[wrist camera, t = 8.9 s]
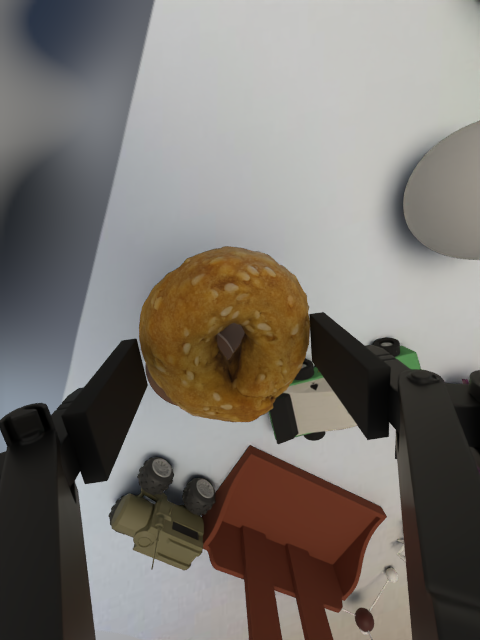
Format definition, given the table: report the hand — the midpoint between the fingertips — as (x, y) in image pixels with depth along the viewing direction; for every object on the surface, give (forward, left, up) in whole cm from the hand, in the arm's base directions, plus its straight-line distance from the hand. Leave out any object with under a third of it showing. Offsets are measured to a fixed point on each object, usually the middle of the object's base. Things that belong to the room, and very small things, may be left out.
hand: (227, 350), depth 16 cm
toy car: (+16, +13, -20) cm, 29 cm away
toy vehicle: (+29, -12, -20) cm, 37 cm away
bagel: (0, 0, -4) cm, 4 cm away
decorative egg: (-6, +25, -20) cm, 33 cm away
